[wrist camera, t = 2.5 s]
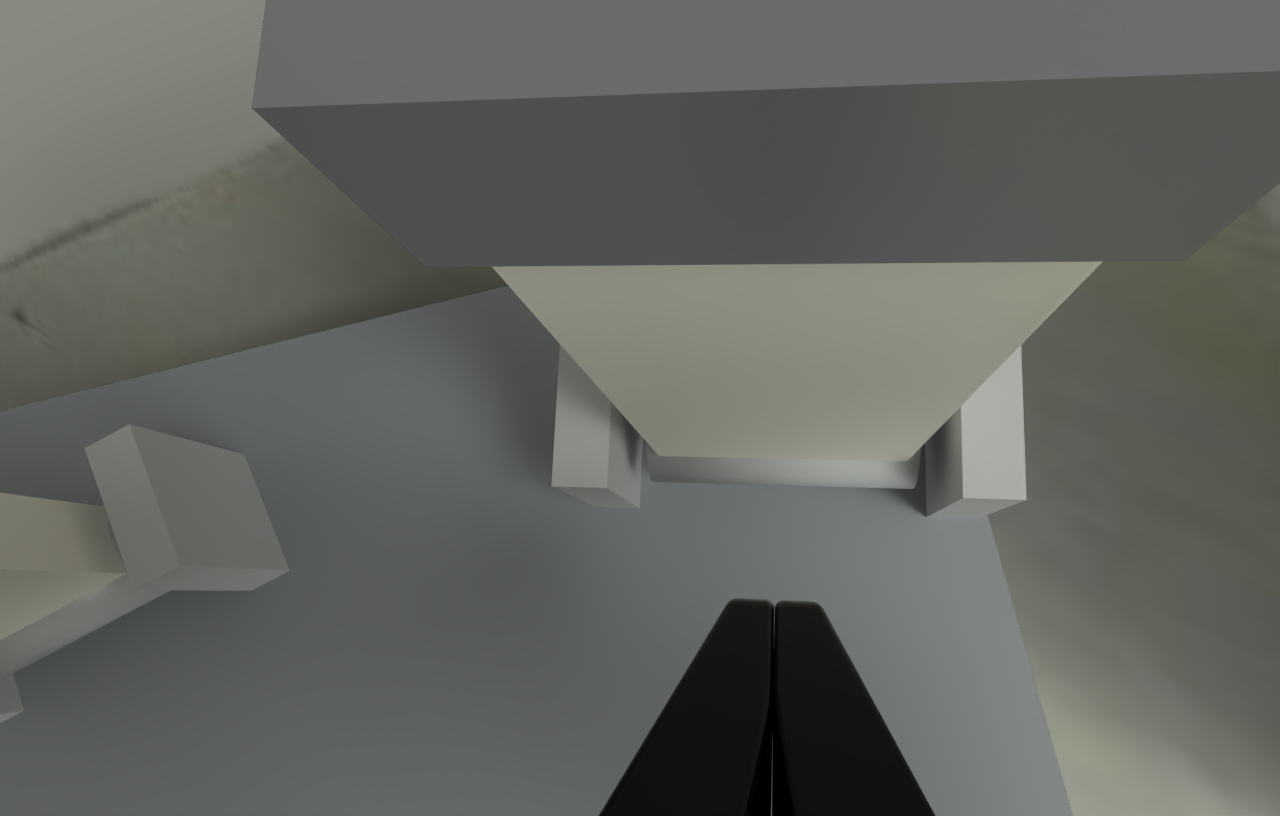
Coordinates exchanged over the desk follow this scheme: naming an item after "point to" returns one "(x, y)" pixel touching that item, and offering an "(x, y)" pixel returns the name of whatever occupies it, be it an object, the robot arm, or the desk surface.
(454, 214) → the switch
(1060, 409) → the desk surface
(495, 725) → the grey base plate
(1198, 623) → the desk surface
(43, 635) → the switch
